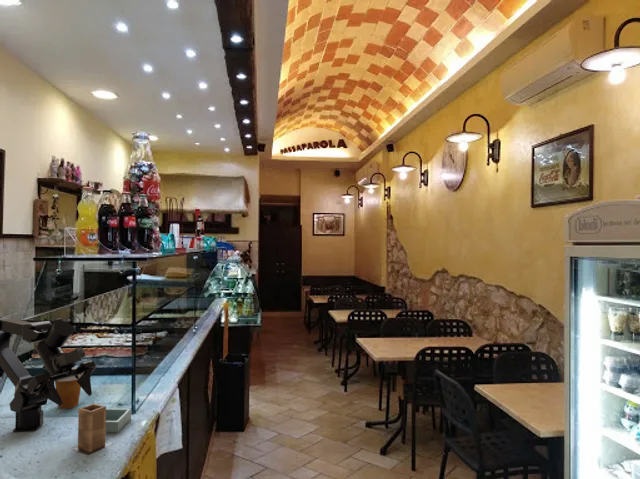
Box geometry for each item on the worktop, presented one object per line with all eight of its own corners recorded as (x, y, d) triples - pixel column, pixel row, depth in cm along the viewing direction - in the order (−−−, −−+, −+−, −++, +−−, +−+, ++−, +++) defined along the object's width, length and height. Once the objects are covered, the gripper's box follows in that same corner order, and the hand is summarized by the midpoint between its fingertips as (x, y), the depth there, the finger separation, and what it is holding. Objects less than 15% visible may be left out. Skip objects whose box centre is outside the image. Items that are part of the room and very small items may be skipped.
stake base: (69, 450, 130) (69, 434, 130) (94, 439, 137) (94, 424, 137) (88, 457, 127) (88, 440, 127) (113, 445, 134) (113, 429, 134)
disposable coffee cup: (62, 412, 157) (62, 377, 157) (47, 406, 162) (47, 372, 162) (89, 404, 165) (89, 370, 165) (73, 398, 170) (74, 366, 170)
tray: (82, 434, 140) (82, 421, 140) (97, 420, 151) (98, 408, 151) (118, 435, 141) (118, 422, 141) (130, 421, 151) (131, 408, 151)
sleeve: (77, 447, 131) (78, 408, 131) (93, 440, 135) (94, 403, 135) (89, 451, 129) (90, 412, 128) (105, 444, 133) (106, 406, 133)
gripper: (34, 346, 129) (59, 393, 124) (93, 334, 145) (117, 374, 141) (16, 370, 132) (40, 416, 127) (76, 356, 149) (99, 396, 144)
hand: (76, 399), depth 135 cm, fingers open, 9 cm apart
